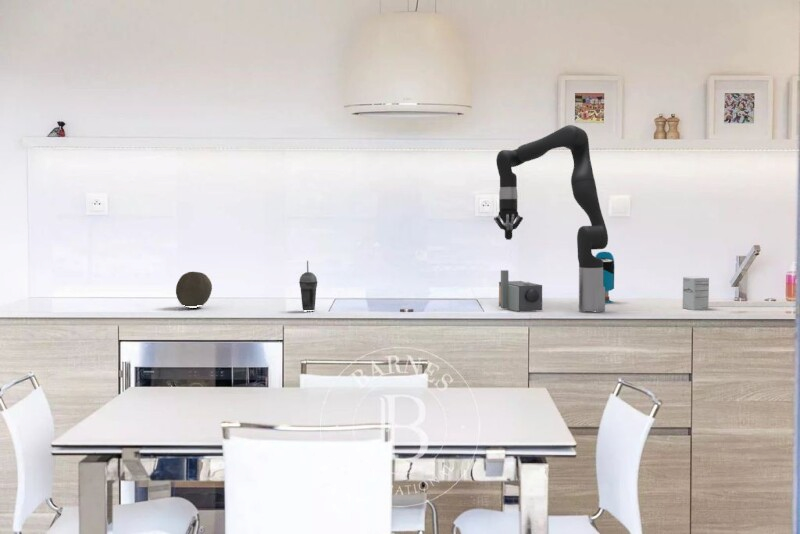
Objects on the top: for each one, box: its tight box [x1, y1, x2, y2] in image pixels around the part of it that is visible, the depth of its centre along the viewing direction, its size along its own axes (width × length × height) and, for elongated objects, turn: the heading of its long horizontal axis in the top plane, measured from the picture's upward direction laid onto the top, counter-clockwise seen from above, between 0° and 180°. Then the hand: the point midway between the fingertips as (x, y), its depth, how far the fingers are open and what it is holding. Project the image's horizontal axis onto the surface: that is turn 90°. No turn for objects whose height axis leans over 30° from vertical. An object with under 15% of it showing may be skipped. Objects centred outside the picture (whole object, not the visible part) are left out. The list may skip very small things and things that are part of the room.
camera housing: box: [498, 280, 543, 312], centre depth 411 cm, size 22×10×11 cm, turn 18°
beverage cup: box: [298, 260, 318, 311], centre depth 405 cm, size 7×7×20 cm
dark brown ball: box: [175, 271, 213, 307], centre depth 418 cm, size 14×14×15 cm
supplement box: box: [682, 275, 710, 311], centre depth 407 cm, size 7×7×13 cm
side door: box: [500, 269, 520, 312], centre depth 405 cm, size 10×3×15 cm, turn 18°
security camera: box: [595, 251, 615, 304], centre depth 431 cm, size 8×21×10 cm
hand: (508, 239), depth 432 cm, fingers closed
